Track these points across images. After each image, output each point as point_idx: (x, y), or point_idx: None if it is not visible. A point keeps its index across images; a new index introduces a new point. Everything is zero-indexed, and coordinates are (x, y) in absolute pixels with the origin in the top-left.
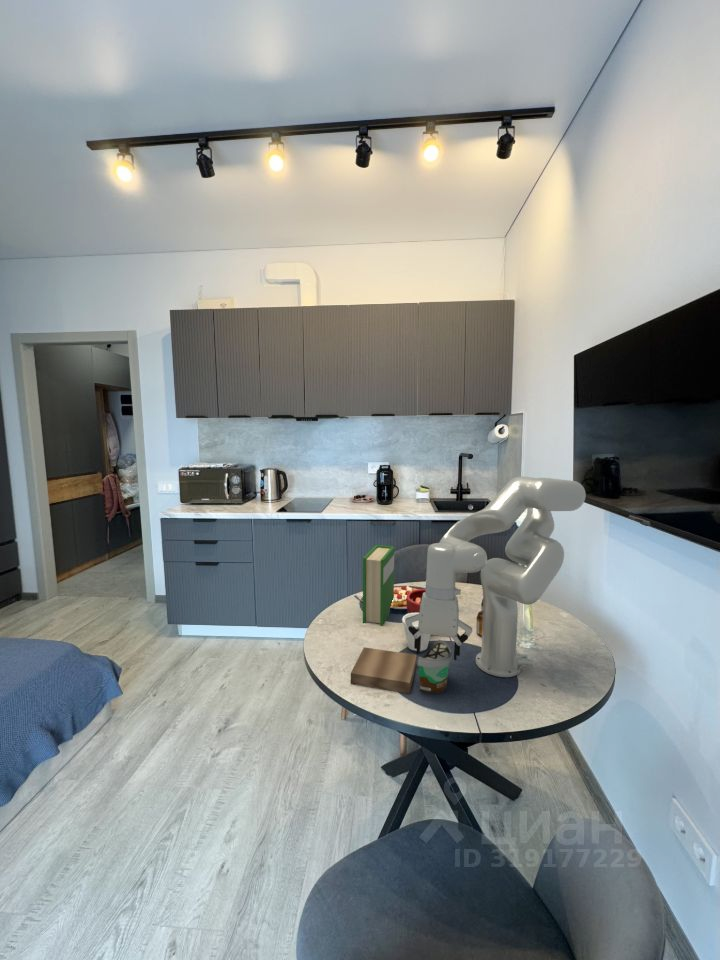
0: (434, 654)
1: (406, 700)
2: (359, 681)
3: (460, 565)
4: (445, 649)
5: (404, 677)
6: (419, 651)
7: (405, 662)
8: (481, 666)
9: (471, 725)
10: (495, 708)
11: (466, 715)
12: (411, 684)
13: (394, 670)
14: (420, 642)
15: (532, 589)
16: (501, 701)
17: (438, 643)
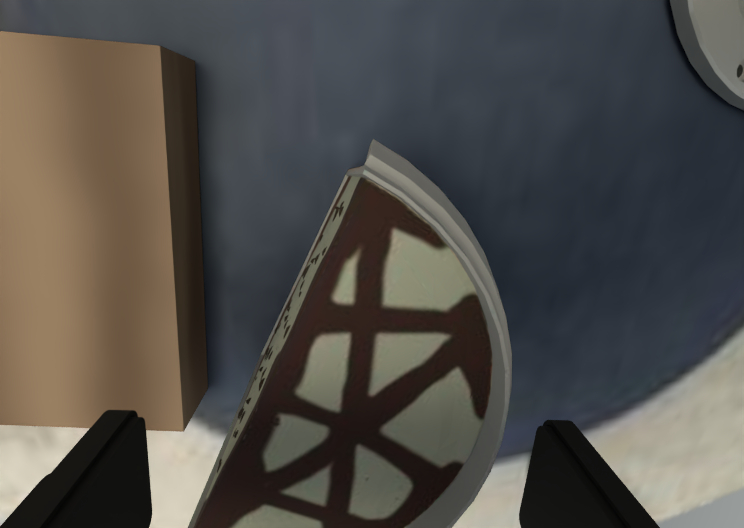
0: (323, 453)
1: (202, 438)
2: None
3: None
4: (450, 329)
5: (135, 388)
6: (147, 492)
7: (91, 200)
8: (702, 41)
9: (504, 524)
10: (642, 407)
11: (493, 476)
12: (201, 327)
13: (40, 325)
14: (98, 500)
15: None
16: (692, 351)
17: (365, 203)
